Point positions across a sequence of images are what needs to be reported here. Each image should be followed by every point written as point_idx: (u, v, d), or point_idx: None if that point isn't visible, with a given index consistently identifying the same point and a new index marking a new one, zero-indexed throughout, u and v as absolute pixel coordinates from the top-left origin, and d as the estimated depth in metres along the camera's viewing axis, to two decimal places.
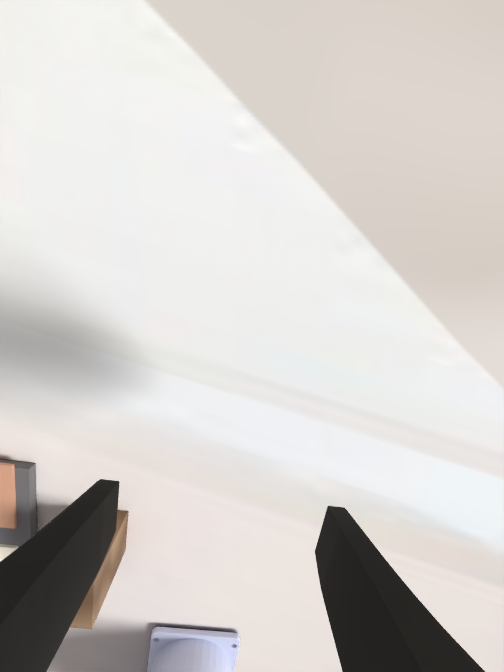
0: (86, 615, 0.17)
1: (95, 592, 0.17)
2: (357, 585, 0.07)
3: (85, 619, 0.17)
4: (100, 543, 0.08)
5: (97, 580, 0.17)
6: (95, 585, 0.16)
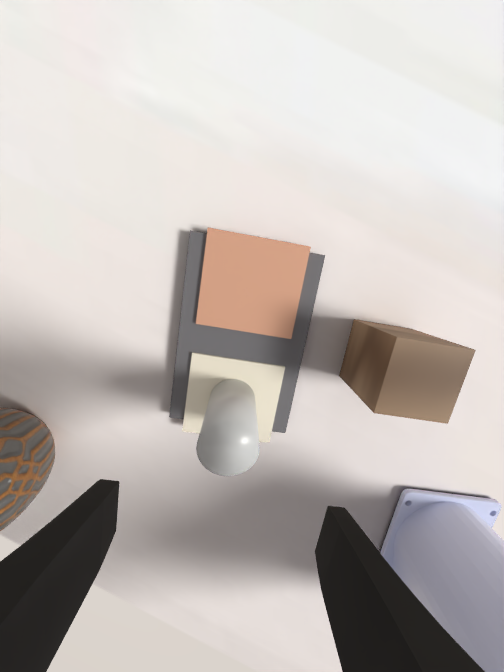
0: (448, 402, 0.13)
1: None
2: (357, 585, 0.07)
3: (445, 408, 0.13)
4: (100, 543, 0.08)
5: None
6: None
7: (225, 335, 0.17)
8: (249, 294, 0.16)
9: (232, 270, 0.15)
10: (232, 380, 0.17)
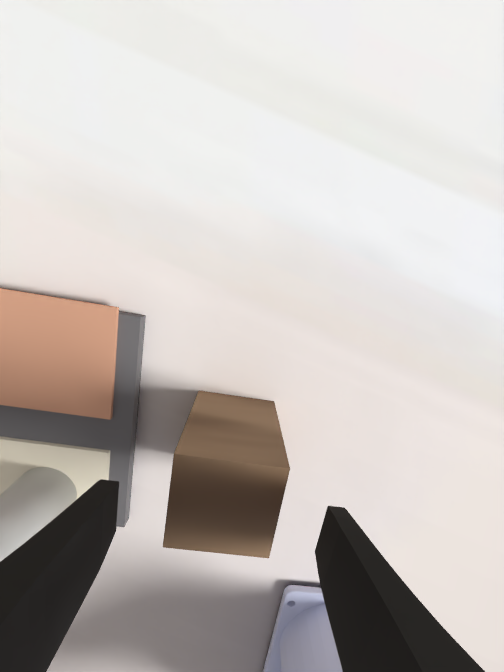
0: (264, 532, 0.10)
1: None
2: (357, 585, 0.07)
3: (261, 540, 0.10)
4: (100, 543, 0.08)
5: None
6: None
7: (26, 414, 0.13)
8: (46, 366, 0.12)
9: (18, 337, 0.12)
10: (38, 470, 0.13)
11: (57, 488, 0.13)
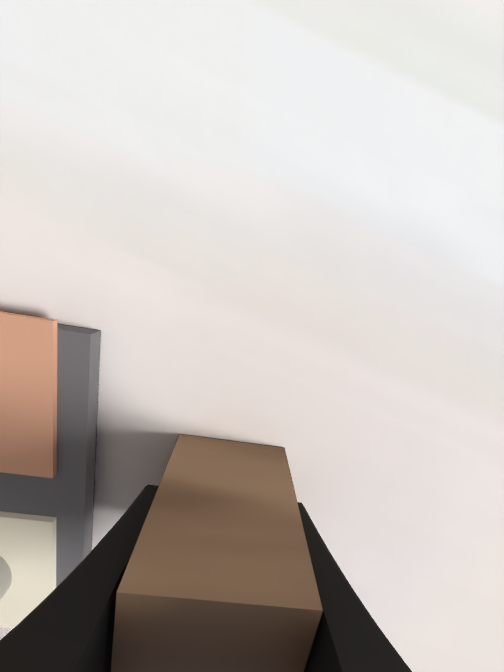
0: None
1: None
2: None
3: None
4: None
5: None
6: None
7: None
8: None
9: None
10: None
11: None
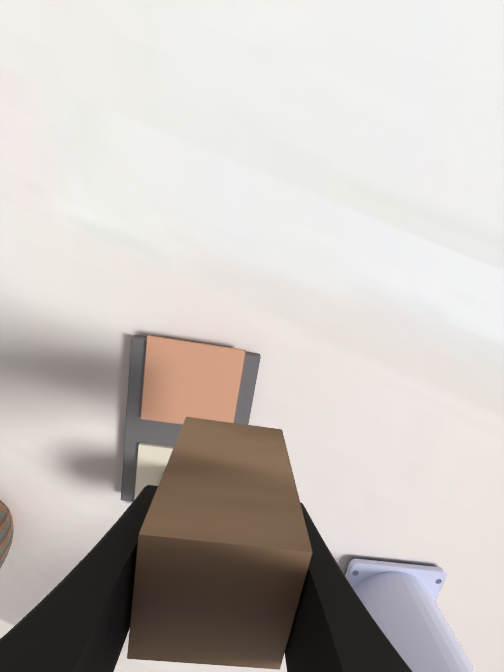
0: (274, 637, 0.07)
1: None
2: None
3: (269, 647, 0.07)
4: None
5: None
6: None
7: (170, 427, 0.18)
8: (190, 392, 0.17)
9: (172, 372, 0.16)
10: None
11: None
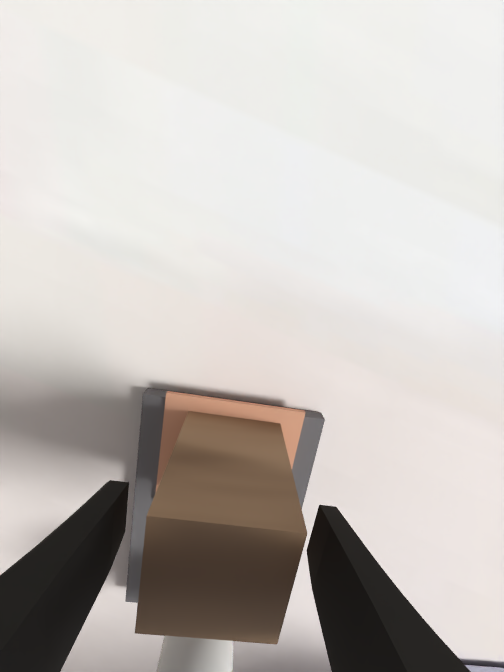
0: (271, 614, 0.07)
1: None
2: (346, 584, 0.07)
3: (267, 623, 0.07)
4: (111, 544, 0.08)
5: None
6: None
7: None
8: None
9: None
10: None
11: None
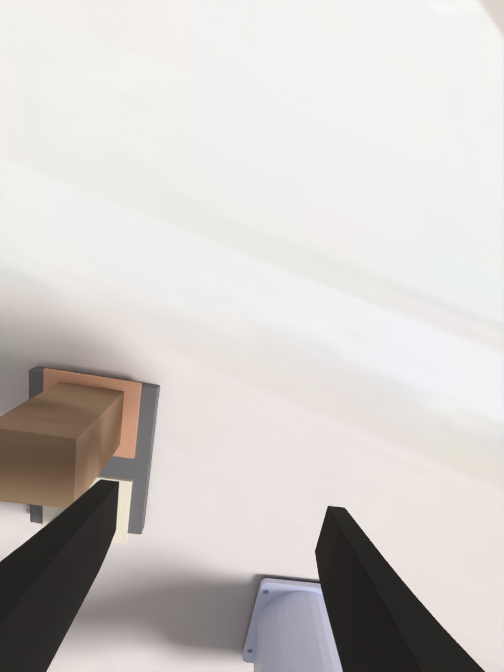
0: (66, 489, 0.13)
1: (78, 458, 0.13)
2: (357, 585, 0.07)
3: (65, 495, 0.13)
4: (100, 543, 0.08)
5: (81, 442, 0.13)
6: (78, 446, 0.12)
7: None
8: None
9: None
10: None
11: None
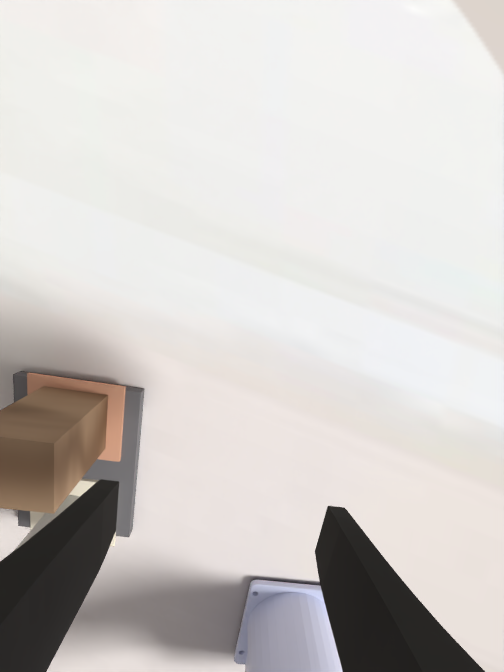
0: (46, 493, 0.13)
1: (57, 463, 0.13)
2: (357, 585, 0.07)
3: (44, 499, 0.13)
4: (100, 543, 0.08)
5: (60, 447, 0.13)
6: (57, 451, 0.12)
7: None
8: None
9: None
10: (67, 498, 0.18)
11: None
